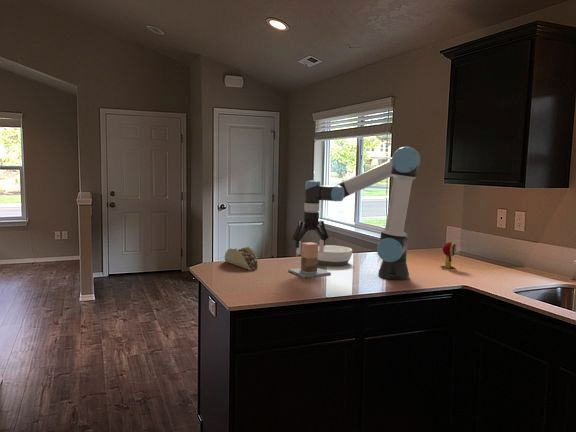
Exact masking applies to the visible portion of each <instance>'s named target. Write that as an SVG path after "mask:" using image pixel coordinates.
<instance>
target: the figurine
mask: <svg viewBox="0 0 576 432" xmlns="http://www.w3.org/2000/svg"><path fill="white" fill-rule="evenodd" d="M442 252H443V254H444V255H445V259H444V265H440V266H439V267H438V269H440V270H441V269H442V271H447V270H450V271H449V272H452V271H451V270H455V271H457V268H456V267H454V266H452V260H453V259H452V257H454V256H455V255H456V254H457V245H456V244H455V242H452V241H449V242H446V243H444V244H443V246H442Z"/></svg>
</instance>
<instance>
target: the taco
mask: <svg viewBox="0 0 576 432" xmlns="http://www.w3.org/2000/svg"><path fill="white" fill-rule="evenodd" d="M223 259H224V262H226V263H228V264H231V265H233V266H236V267H238V268H239V267H240V268H242V269H245V270H248V271H251V272H255V270H256V271H257V270H258V268H259V263H258V257H257V255H256V253H255V251H254V250H253V249H252V248H250V247H249V246H247V247H246V246H245V247H241V248H239V249H238V248H228V249H227V250H226V252H225V254H224V258H223ZM253 270H254V271H253Z"/></svg>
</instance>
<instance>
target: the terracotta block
mask: <svg viewBox="0 0 576 432" xmlns="http://www.w3.org/2000/svg"><path fill="white" fill-rule="evenodd" d="M318 246H319V243H316V242H313V241H312V242H311V241H310V242H309V241H308V242H301V256H302V257H305V258H307V259H309V258H318Z"/></svg>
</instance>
